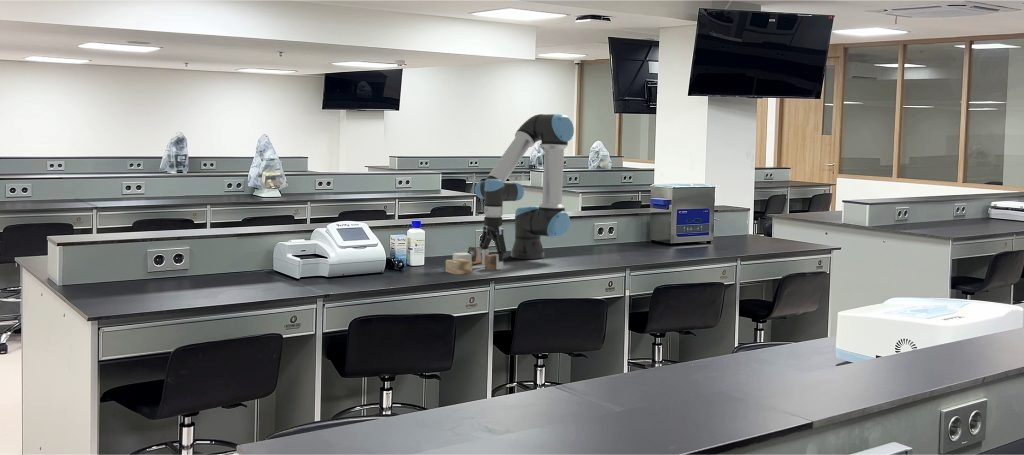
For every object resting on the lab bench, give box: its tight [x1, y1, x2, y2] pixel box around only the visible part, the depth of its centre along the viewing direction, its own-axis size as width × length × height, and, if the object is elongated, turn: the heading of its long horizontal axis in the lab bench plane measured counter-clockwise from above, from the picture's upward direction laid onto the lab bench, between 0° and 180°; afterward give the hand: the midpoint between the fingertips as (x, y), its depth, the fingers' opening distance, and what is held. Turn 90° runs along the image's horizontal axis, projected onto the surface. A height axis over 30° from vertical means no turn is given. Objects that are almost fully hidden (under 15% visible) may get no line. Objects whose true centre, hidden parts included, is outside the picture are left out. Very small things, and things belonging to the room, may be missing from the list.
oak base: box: [445, 258, 473, 275], centre depth 382 cm, size 8×8×5 cm
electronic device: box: [467, 246, 482, 266], centre depth 404 cm, size 4×10×8 cm, turn 161°
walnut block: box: [484, 253, 502, 271], centre depth 390 cm, size 5×5×6 cm
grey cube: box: [452, 252, 472, 261], centre depth 393 cm, size 6×6×6 cm
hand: (492, 267), depth 390 cm, fingers open, 13 cm apart
